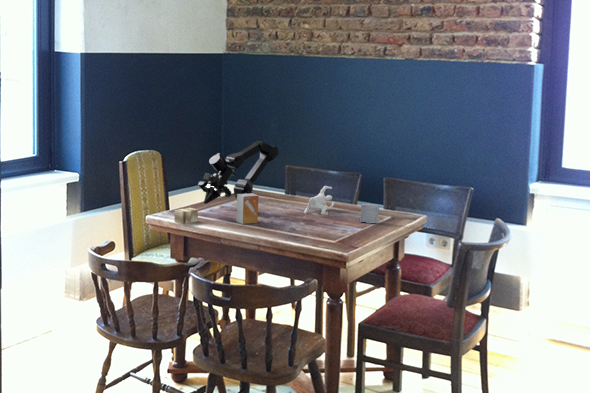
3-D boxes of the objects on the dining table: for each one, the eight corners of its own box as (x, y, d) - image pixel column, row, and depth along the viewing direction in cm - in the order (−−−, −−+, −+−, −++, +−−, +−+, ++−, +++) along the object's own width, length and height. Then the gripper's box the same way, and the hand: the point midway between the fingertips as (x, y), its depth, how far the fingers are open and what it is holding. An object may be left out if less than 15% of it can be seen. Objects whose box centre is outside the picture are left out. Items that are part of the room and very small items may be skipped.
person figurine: (324, 194, 322) (331, 182, 338) (299, 197, 326) (307, 186, 342) (330, 219, 326) (336, 206, 342) (305, 222, 330) (312, 209, 346)
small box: (242, 224, 299) (243, 196, 297) (235, 221, 304) (236, 193, 302) (258, 222, 303) (258, 195, 301) (251, 220, 309) (252, 192, 306)
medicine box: (378, 222, 314) (379, 204, 312) (376, 224, 310) (377, 206, 308) (362, 220, 316) (363, 203, 315) (360, 222, 312) (361, 204, 311)
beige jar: (190, 207, 304) (174, 210, 298) (198, 209, 301) (182, 212, 294) (190, 219, 305) (174, 221, 299) (197, 221, 302) (182, 224, 295)
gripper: (200, 164, 313) (182, 190, 308) (226, 169, 301) (208, 196, 295) (213, 178, 321) (195, 204, 315) (239, 184, 308) (221, 210, 303)
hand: (204, 203), depth 307 cm, fingers closed
